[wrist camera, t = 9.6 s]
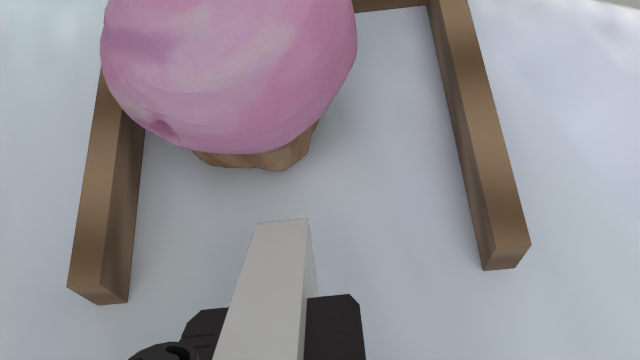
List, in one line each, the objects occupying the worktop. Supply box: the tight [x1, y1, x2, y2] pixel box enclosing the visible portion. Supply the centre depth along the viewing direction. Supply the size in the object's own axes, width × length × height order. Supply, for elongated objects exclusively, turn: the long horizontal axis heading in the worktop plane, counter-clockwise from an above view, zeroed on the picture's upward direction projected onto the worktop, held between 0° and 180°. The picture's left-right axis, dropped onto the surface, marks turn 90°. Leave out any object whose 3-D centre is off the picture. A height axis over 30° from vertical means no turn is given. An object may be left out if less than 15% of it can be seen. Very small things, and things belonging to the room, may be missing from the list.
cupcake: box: [100, 0, 357, 171], centre depth 20 cm, size 9×9×10 cm
